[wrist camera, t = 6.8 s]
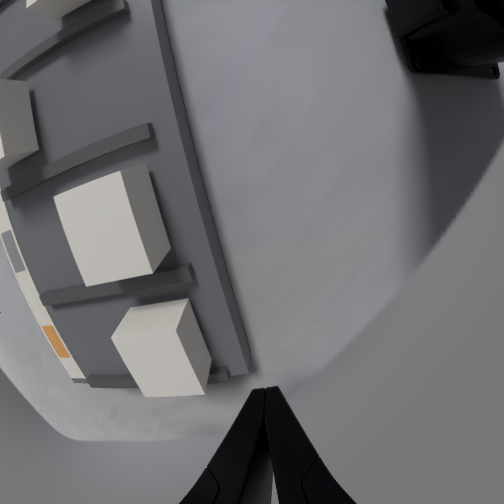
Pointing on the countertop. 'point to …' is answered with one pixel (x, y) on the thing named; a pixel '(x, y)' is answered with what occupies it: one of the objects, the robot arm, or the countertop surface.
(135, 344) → the off-white short block
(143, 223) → the white rectangular block
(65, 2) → the white rectangular block
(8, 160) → the tab
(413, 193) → the countertop surface
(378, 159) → the countertop surface
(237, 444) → the robot arm
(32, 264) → the switch bank
